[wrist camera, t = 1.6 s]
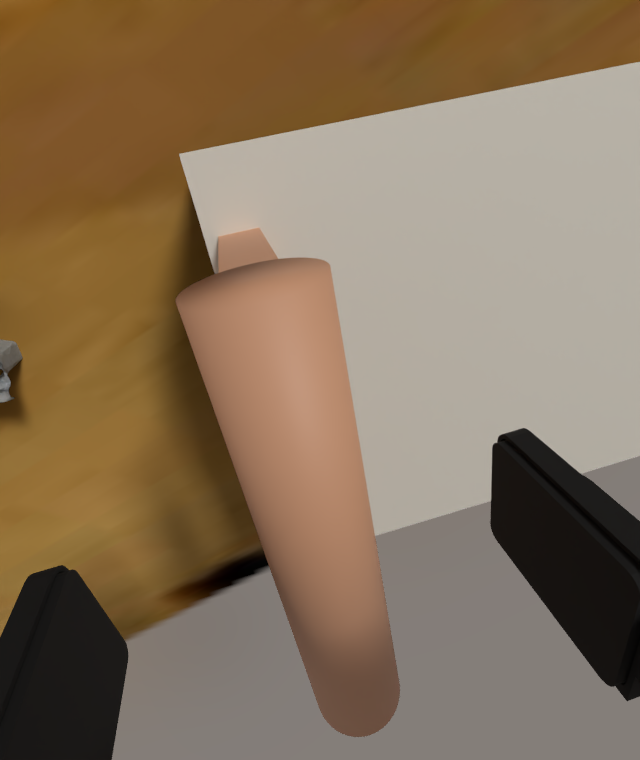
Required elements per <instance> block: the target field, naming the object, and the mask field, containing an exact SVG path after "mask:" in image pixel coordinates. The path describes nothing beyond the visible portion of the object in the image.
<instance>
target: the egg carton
mask: <svg viewBox="0 0 640 760" xmlns="http://www.w3.org/2000/svg"><path fill="white" fill-rule="evenodd" d="M21 359H22V355H21V352H20V350H19V348H18V346H17V344H16V342H14V341H5V340H1V339H0V369H2V370H3V373H2V374H1V375H0V403H2V402H6V401H9V400H12V399H14V397H11V396H10V394H9V387H10V385H11V381H10V379H9V377H8V375H7V373H8V372H9V371H10V370H11V369H12V368H13V367H14V366H15V365H16V364H17V363H18V362H19V361H20V360H21Z"/></svg>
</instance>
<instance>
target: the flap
mask: <svg viewBox="0 0 640 760" xmlns="http://www.w3.org/2000/svg"><path fill="white" fill-rule="evenodd" d="M179 156H180V159H181V162H182V166H183V169H184V173H185V176H186V179H187V183H188V186H189V189H190V193H191V196H192V199H193V203H194V206H195V209H196V213H197V216H198V219H199V223H200V226H201V230H202V233H203V236H204V240H205V243H206V246H207V250H208V253H209V256H210V260H211V263H212V266H213V270H214V273H215V274H214V275H211V276H209V277H206V278H204V279H202V280H200V281H198V282H195V283H194V284H192V285H190V286H188V287H187V288H185V289H184V290H183V291H181V292H180V293H179V294H178V296H177V297H176V304H177V307H178V310H179V313H180V316H181V319H182V321H183V324H184V327H185V330H186V333H187V335H188V338H189V341H190V344H191V347H192V350H193V352H194V355H195V358H196V361H197V364H198V367H199V369H200V372H201V375H202V378H203V381H204V383H205V386H206V389H207V392H208V395H209V398H210V400H211V403H212V406H213V409H214V412H215V415H216V417H217V420H218V423H219V426H220V429H221V431H222V434H223V437H224V440H225V443H226V446H227V448H228V451H229V454H230V457H231V460H232V463H233V465H234V468H235V471H236V474H237V477H238V479H239V482H240V485H241V488H242V491H243V494H244V496H245V499H246V502H247V505H248V508H249V511H250V513H251V516H252V519H253V522H254V525H255V528H256V530H257V533H258V536H259V539H260V542H261V544H262V547H263V550H264V553H265V556H266V559H267V561H268V564H269V567H270V570H271V573H272V576H273V578H274V581H275V584H276V587H277V590H278V592H279V595H280V598H281V601H282V603H283V607H284V609H285V612H286V615H287V618H288V621H289V623H290V626H291V629H292V632H293V635H294V638H295V640H296V643H297V646H298V649H299V652H300V655H301V657H302V660H303V663H304V666H305V669H306V672H307V674H308V677H309V680H310V683H311V686H312V688H313V691H314V694H315V697H316V700H317V703H318V705H319V708H320V711H321V713H322V715H323V717H324V718H325V719H326V721H327V722H328V723H329V724H330V725H331V726H332V727H333V728H334V729H335V730H337V731H338V732H340V733H342V734H345V735H348V736H353V737H362V736H368V735H371V734H373V733H375V732H377V731H379V730H380V729H382V728H383V727H384V726H385V725H386V724H387V723H388V722H389V721H390V719H391V718H392V716H393V715H394V713H395V711H396V708H397V705H398V701H399V694H400V684H399V678H398V673H397V666H396V660H395V654H394V649H393V642H392V636H391V630H390V624H389V618H388V612H387V606H386V600H385V594H384V588H383V581H382V576H381V569H380V563H379V557H378V551H377V545H376V539H375V536H377V535H380V534H383V533H386V532H390V531H393V530H396V529H399V528H403V527H406V526H409V525H413V524H416V523H419V522H423V521H426V520H430V519H433V518H436V517H439V516H443V515H446V514H449V513H453V512H456V511H459V510H462V509H466V508H469V507H473V506H475V505H479V504H482V503H485V502H489V501H491V481H492V447H493V444H494V443H497V441H498V437H499V435H502V434H505V433H508V432H512V431H515V430H518V429H522V428H525V429H528V430H529V431H531V432H532V433H533V434H534V435H535V436H537V437H538V438H539V439H540V440H541V441H543V442H544V443H545V444H546V445H547V446H548V447H550V448H551V449H552V450H553V451H554V452H555V453H557V454H558V455H559V456H560V457H561V458H563V459H564V460H565V461H566V462H567V463H568V464H570V465H571V466H572V467H573V468H574V469H576V470H577V471H578V472H579V473H580V474H582V473H585V472H588V471H591V470H594V469H598V468H601V467H605V466H608V465H611V464H615V463H618V462H621V461H625V460H628V459H631V458H634V457H638V456H640V62H637V63H632V64H627V65H622V66H617V67H612V68H607V69H602V70H597V71H592V72H587V73H582V74H577V75H572V76H567V77H562V78H557V79H552V80H547V81H542V82H537V83H532V84H527V85H522V86H517V87H512V88H507V89H502V90H497V91H492V92H487V93H482V94H477V95H472V96H467V97H462V98H457V99H452V100H447V101H442V102H437V103H432V104H427V105H422V106H417V107H412V108H407V109H402V110H397V111H392V112H387V113H382V114H377V115H372V116H367V117H362V118H357V119H352V120H347V121H342V122H337V123H332V124H327V125H322V126H317V127H312V128H307V129H302V130H297V131H292V132H287V133H282V134H277V135H272V136H267V137H262V138H257V139H252V140H247V141H242V142H237V143H232V144H227V145H222V146H217V147H212V148H207V149H202V150H197V151H192V152H187V153H182V154H179Z"/></svg>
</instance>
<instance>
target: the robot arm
mask: <svg viewBox="0 0 640 760" xmlns="http://www.w3.org/2000/svg"><path fill="white" fill-rule="evenodd" d="M491 529H492V532H493V535H494V536H495V538H496V540H497V541H498V543H499V544H500V545H501V547H502V548H503V549H504V551H505V552H506V553H507V555H508V556H509V557H510V559H511V560H512V561H513V563H514V564H515V565H516V567H517V568H518V569H519V571H520V572H521V573H522V574H523V576H524V577H525V579H526V580H527V581H528V582H529V584H530V585H531V586H532V588H533V589H534V591H535V592H536V593H537V594H538V596H539V597H540V598H541V600H542V601H543V602H544V604H545V605H546V606H547V608H548V609H549V610H550V612H551V613H552V614H553V616H554V617H555V618H556V620H557V621H558V622H559V624H560V625H561V626H562V628H563V629H564V630H565V632H566V633H567V634H568V636H569V637H570V638H571V640H572V641H573V642H574V644H575V645H576V646H577V648H578V649H579V650H580V652H581V653H582V654H583V656H584V657H585V658H586V660H587V661H588V662H589V664H590V665H591V666H592V668H593V669H594V670H595V671H596V673H597V674H598V676H599V677H600V678H601V679H602V680H603V681H604V682H605V683H606V684H607V685H609V686H616V687H617V689H618V690H619V691H620V693H621V694H622V695H623V697H624V698H625V699H626V700H627V701H628V700H631V699H634V698H636V697H639V696H640V521H639V520H637V519H636V518H635V517H634V516H633V515H631V514H630V513H629V512H628V511H627V510H626V509H624V508H623V507H622V506H621V505H620V504H618V503H617V502H616V501H615V500H614V499H613V498H611V497H610V496H609V495H608V494H607V493H605V492H604V491H603V490H602V489H601V488H599V487H598V486H597V485H596V484H595V483H594V482H592V481H591V480H590V479H588V478H587V477H585V476H583V475H581V474H580V473H579V472H578V471H577V470H576V469H574V468H573V467H572V466H571V465H570V464H568V463H567V462H566V461H565V460H564V459H563V458H561V457H560V456H559V455H558V454H557V453H555V452H554V451H553V450H552V449H551V448H550V447H548V446H547V445H546V444H545V443H544V442H543V441H541V440H540V439H539V438H538V437H537V436H535V435H534V434H533V433H532V432H531V431H529V430H528V429H525V428H522V429H518V430H515V431H512V432H508V433H505V434H502V435H499V437H498V441H497V443H494V444H493V447H492V481H491ZM127 663H128V649H127V645H126V642H125V641H124V639H123V638H122V636H121V635H120V633H119V632H118V630H117V629H116V627H115V626H114V625H113V623H112V622H111V620H110V619H109V617H108V616H107V614H106V613H105V612H104V610H103V609H102V607H101V606H100V604H99V603H98V601H97V600H96V598H95V597H94V596H93V594H92V593H91V591H90V590H89V588H88V587H87V585H86V584H85V582H84V581H83V580H82V578H81V577H80V575H79V574H78V572H77V571H76V570H68V569H67V568H66V567H65V566H63V565H61V566H57V567H54V568H50V569H47V570H44V571H40V572H37V573H34V574H31V575H30V576H29V577H28V578H27V579H26V581H25V583H24V585H23V587H22V590H21V592H20V594H19V596H18V599H17V601H16V603H15V606H14V608H13V610H12V612H11V615H10V617H9V619H8V621H7V624H6V626H5V628H4V630H3V633H2V635H1V637H0V760H111V759H112V753H113V747H114V741H115V736H116V729H117V723H118V717H119V711H120V705H121V699H122V693H123V687H124V681H125V674H126V669H127Z"/></svg>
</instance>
